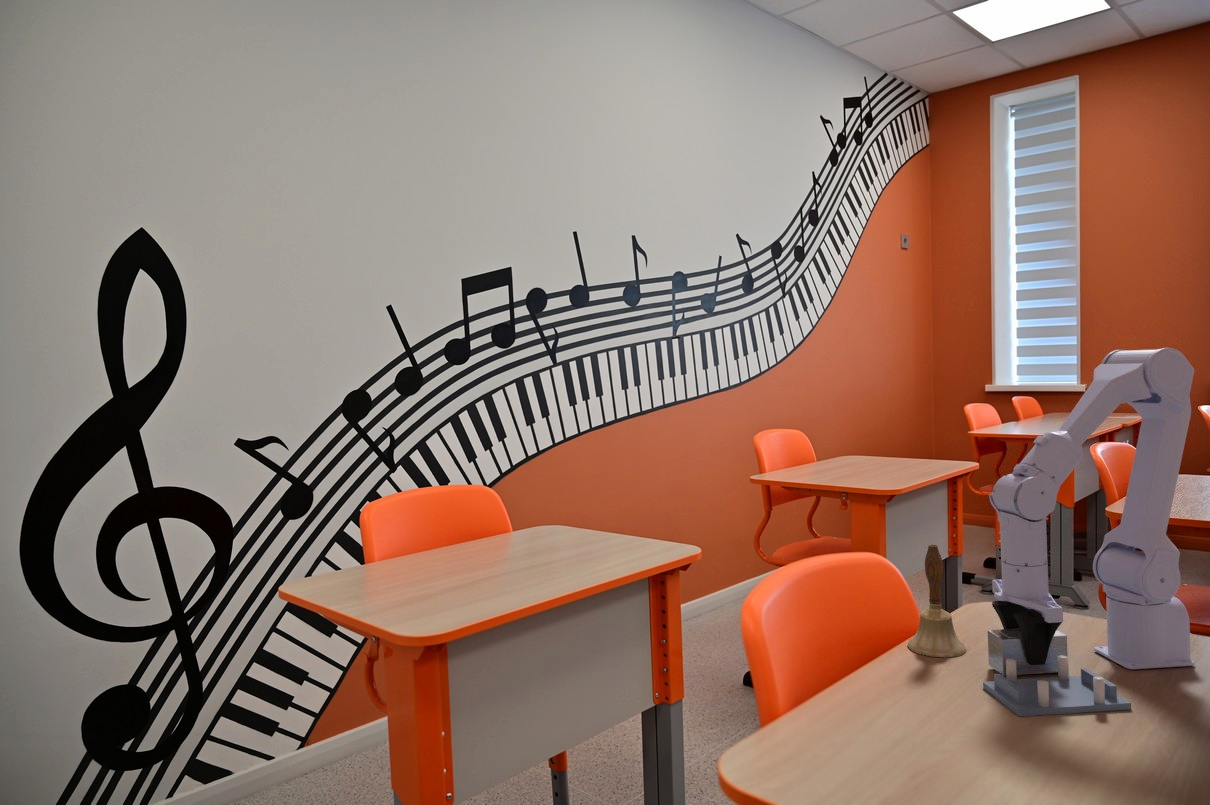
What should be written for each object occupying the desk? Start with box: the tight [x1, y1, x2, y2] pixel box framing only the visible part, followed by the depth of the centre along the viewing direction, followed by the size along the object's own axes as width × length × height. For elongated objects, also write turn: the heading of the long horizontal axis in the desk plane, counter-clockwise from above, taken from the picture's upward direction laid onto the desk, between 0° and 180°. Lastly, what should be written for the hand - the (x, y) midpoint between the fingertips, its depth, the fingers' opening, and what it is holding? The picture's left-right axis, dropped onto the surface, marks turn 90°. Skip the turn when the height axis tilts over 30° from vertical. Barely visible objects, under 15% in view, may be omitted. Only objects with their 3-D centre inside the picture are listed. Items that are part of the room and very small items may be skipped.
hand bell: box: [907, 544, 967, 659], centre depth 124 cm, size 8×8×16 cm
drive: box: [987, 628, 1069, 677], centre depth 113 cm, size 9×4×5 cm, turn 92°
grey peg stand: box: [982, 655, 1132, 717], centre depth 104 cm, size 14×9×4 cm, turn 92°
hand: (1027, 658), depth 113 cm, fingers closed on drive, 4 cm apart
